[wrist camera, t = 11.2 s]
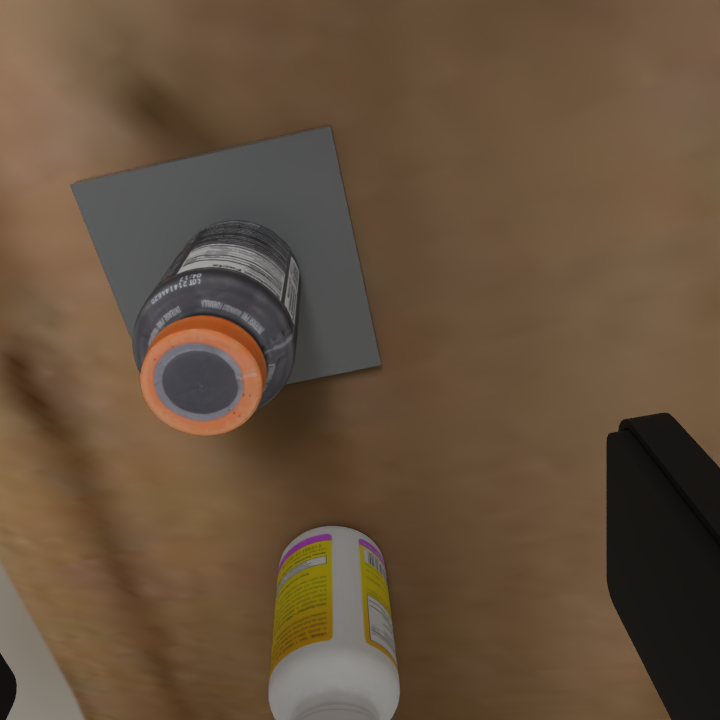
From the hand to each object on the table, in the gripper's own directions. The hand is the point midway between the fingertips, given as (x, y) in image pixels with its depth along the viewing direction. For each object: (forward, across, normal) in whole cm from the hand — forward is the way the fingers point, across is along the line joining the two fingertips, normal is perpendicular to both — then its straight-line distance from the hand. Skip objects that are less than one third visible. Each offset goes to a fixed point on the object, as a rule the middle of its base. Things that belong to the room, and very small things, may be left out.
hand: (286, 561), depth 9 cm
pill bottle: (+23, +4, +3) cm, 24 cm away
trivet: (+24, +5, +3) cm, 25 cm away
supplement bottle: (+24, +4, +23) cm, 33 cm away
